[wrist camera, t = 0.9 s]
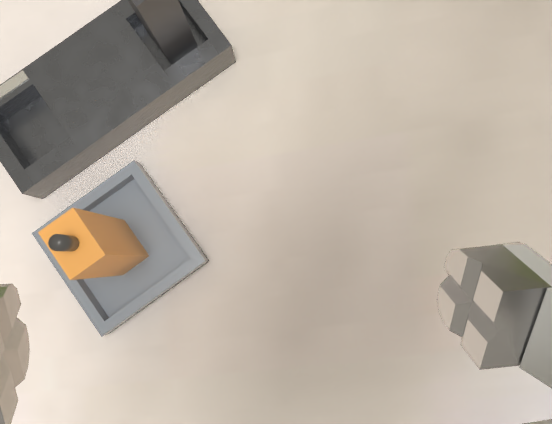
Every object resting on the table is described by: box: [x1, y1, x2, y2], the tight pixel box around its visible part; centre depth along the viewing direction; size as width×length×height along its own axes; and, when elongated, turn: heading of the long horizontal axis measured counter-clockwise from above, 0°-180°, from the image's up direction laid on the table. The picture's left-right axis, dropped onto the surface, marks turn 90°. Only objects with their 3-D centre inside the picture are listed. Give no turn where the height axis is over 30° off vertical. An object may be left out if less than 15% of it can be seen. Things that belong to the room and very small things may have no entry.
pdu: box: [0, 0, 236, 199], centre depth 50 cm, size 24×10×4 cm, turn 126°
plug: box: [38, 208, 149, 280], centre depth 42 cm, size 3×4×14 cm
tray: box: [32, 161, 209, 336], centre depth 49 cm, size 12×12×2 cm
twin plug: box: [128, 0, 198, 65], centre depth 43 cm, size 3×4×14 cm
